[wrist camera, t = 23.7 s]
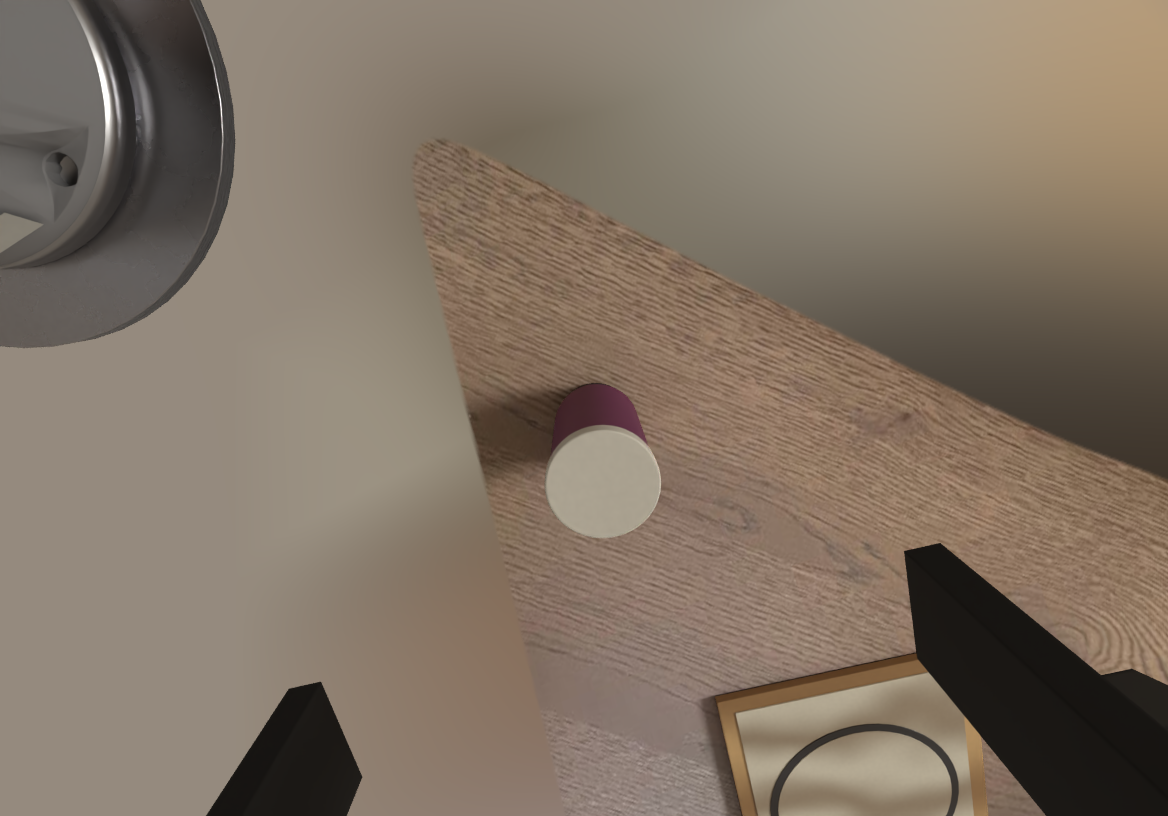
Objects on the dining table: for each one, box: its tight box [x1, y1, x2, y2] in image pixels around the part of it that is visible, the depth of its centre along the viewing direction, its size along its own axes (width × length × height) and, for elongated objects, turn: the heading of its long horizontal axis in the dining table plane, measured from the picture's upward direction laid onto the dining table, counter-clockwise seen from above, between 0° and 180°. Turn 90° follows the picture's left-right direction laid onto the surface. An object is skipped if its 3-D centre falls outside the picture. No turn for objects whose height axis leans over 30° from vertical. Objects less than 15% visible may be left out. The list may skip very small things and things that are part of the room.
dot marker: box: [545, 383, 661, 538], centre depth 28 cm, size 5×5×10 cm
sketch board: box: [715, 653, 988, 816], centre depth 40 cm, size 21×16×1 cm
